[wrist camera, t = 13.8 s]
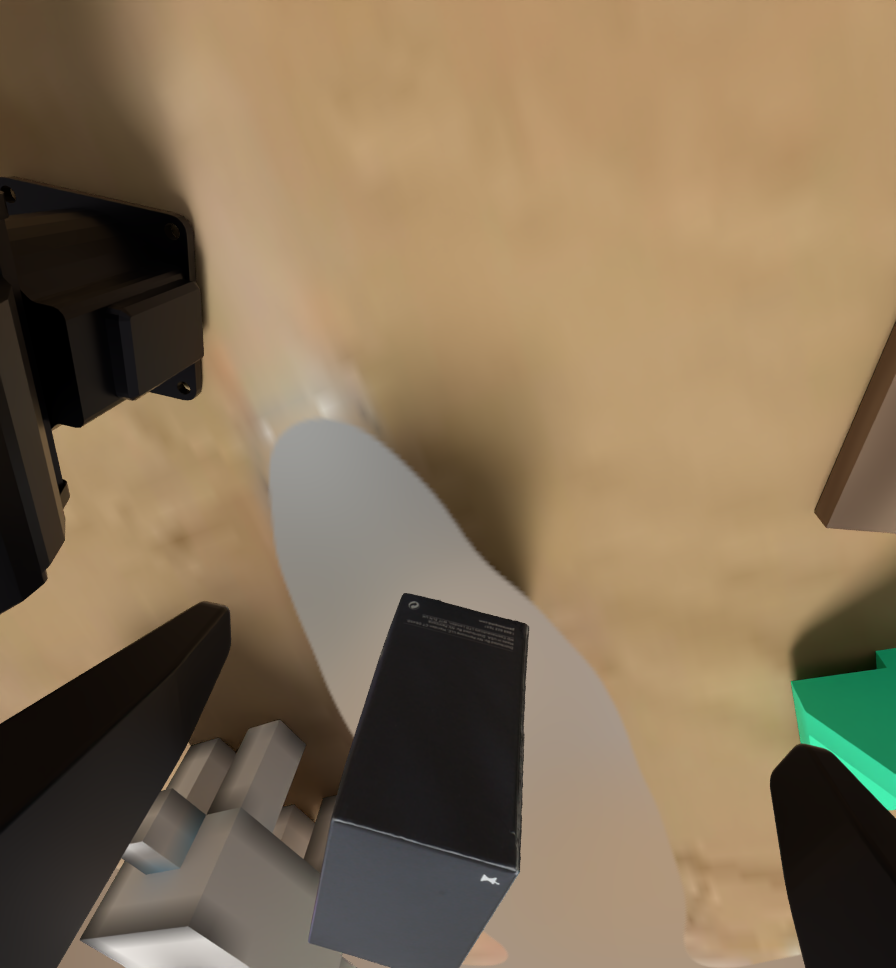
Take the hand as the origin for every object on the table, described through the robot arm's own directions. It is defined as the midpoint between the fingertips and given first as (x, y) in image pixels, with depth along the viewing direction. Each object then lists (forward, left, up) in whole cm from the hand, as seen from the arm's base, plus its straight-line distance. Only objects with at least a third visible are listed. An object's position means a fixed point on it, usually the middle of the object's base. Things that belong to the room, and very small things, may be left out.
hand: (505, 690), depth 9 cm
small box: (0, -16, -13) cm, 21 cm away
